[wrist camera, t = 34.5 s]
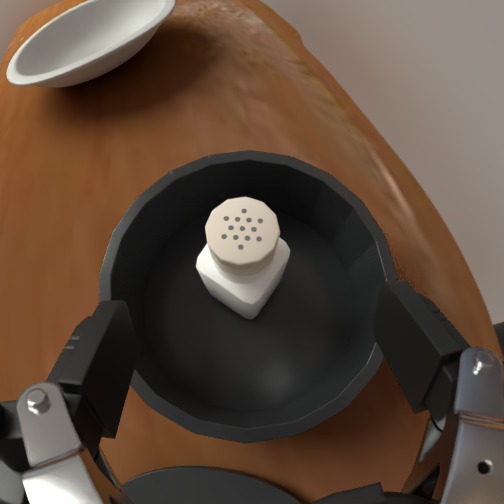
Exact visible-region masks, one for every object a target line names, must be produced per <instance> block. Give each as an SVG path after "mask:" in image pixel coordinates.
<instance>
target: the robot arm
mask: <svg viewBox="0 0 504 504" xmlns="http://www.w3.org/2000/svg"><path fill="white" fill-rule="evenodd" d="M373 333H374V337H375V340H376V342H377V344H378V345H379V347H380V349H381V351H382V353H383V354H384V356H385V358H386V360H387V362H388V364H389V366H390V367H391V369H392V371H393V373H394V375H395V377H396V379H397V381H398V382H399V384H400V386H401V388H402V390H403V392H404V394H405V396H406V398H407V400H408V402H409V404H410V406H411V408H412V410H413V412H414V414H415V413H418V412H422V411H425V410H429V412H430V414H431V415H430V417H429V418H428V420H427V424H426V427H425V431H424V434H423V438H422V441H421V445H420V448H419V451H418V454H417V457H416V460H415V463H414V466H413V469H412V471H411V473H410V475H409V477H408V479H407V480H406V482H405V484H404V486H403V487H402V489H401V491H400V492H383V489H382V486H381V483H380V482H378V483H375V484H371V485H367V486H363V487H359V488H355V489H351V490H347V491H342V492H338V493H333V494H331V495H329V496H326V497H324V498H322V499H319V500H317V501H314V502H312V503H309V504H504V361H501V360H500V358H499V357H498V356H497V355H496V354H495V353H494V352H492V351H490V350H488V349H486V348H483V347H470V345H469V344H468V343H467V342H466V341H465V339H464V338H463V337H462V336H461V334H460V333H459V332H458V331H457V330H456V328H455V327H454V326H453V325H452V324H451V323H450V321H449V320H448V321H447V318H446V317H445V316H444V314H443V313H440V310H439V309H438V308H437V306H436V305H435V304H434V303H433V302H432V301H431V300H429V299H428V298H426V297H424V296H423V295H421V294H419V293H418V294H417V293H416V292H415V291H414V289H413V288H412V287H411V286H410V285H409V284H408V283H407V282H406V281H404V280H402V281H393V282H385V283H382V285H381V287H380V290H379V296H378V301H377V306H376V311H375V316H374V321H373ZM138 355H139V345H138V339H137V336H136V333H135V330H134V326H133V323H132V320H131V317H130V313H129V310H128V307H127V304H126V302H125V301H123V300H120V301H101V302H100V303H99V305H98V306H97V308H96V310H95V311H94V313H93V315H92V317H87V318H86V319H84V320H83V321H82V322H81V323H80V324H79V325H78V326H77V327H76V328H75V330H74V332H73V333H72V335H71V337H70V340H68V342H67V344H66V345H65V349H63V351H62V353H61V354H60V356H59V358H58V360H57V362H56V363H55V365H54V367H53V369H52V371H51V373H50V375H49V377H48V378H47V380H46V381H43V382H37V383H34V384H32V385H30V386H29V387H27V388H26V389H25V390H24V391H23V392H22V393H21V395H20V396H19V398H18V400H15V401H6V402H0V504H134V503H133V502H132V501H131V499H130V498H129V497H128V495H127V493H126V492H125V490H124V489H123V487H122V485H121V484H120V482H119V480H118V479H117V477H116V475H115V473H114V472H113V470H112V468H111V466H110V464H109V463H108V461H107V459H106V457H105V455H104V453H103V451H102V449H101V448H100V447H99V444H100V440H101V437H106V438H113V439H115V437H116V433H117V429H118V425H119V422H120V418H121V414H122V411H123V407H124V403H125V400H126V396H127V393H128V389H129V386H130V382H131V379H132V376H133V372H134V369H135V366H136V363H137V359H138Z"/></svg>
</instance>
